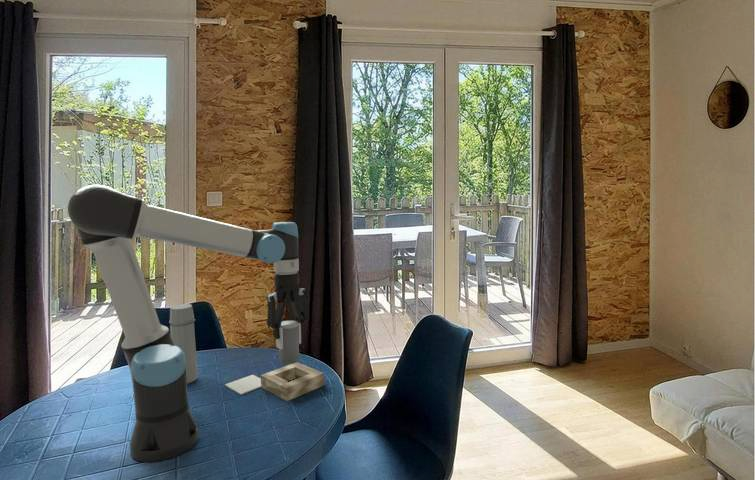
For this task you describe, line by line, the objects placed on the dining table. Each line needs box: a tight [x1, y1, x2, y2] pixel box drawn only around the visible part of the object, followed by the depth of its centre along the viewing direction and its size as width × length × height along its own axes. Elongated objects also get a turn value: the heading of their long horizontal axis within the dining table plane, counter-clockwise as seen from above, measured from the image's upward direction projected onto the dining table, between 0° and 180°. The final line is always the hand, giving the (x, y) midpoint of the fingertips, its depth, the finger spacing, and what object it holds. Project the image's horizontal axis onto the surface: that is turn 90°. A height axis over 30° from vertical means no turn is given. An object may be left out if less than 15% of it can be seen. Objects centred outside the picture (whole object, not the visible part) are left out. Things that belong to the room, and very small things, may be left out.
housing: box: [260, 361, 325, 402], centre depth 140 cm, size 14×14×4 cm
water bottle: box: [168, 303, 199, 385], centre depth 145 cm, size 9×8×25 cm
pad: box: [224, 374, 262, 396], centre depth 142 cm, size 10×10×1 cm
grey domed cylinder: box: [278, 320, 300, 365], centre depth 138 cm, size 6×6×12 cm
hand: (288, 345), depth 138 cm, fingers closed on grey domed cylinder, 6 cm apart
